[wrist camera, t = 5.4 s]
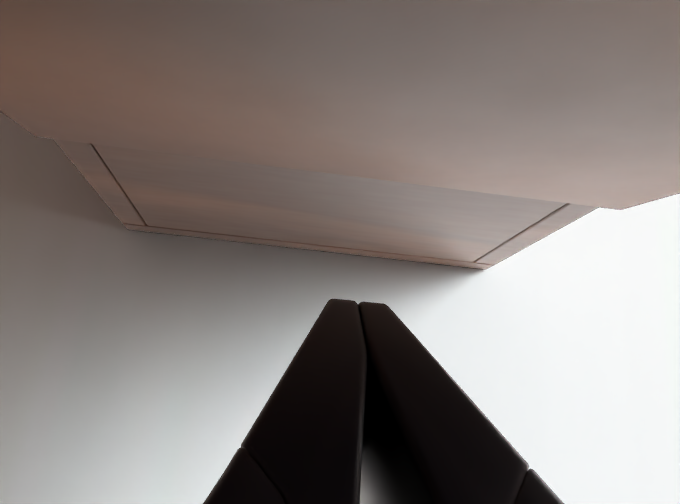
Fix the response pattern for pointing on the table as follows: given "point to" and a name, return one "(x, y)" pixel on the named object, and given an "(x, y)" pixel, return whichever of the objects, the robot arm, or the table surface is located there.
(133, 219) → the walnut box
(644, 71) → the lid
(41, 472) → the table surface
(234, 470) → the robot arm
